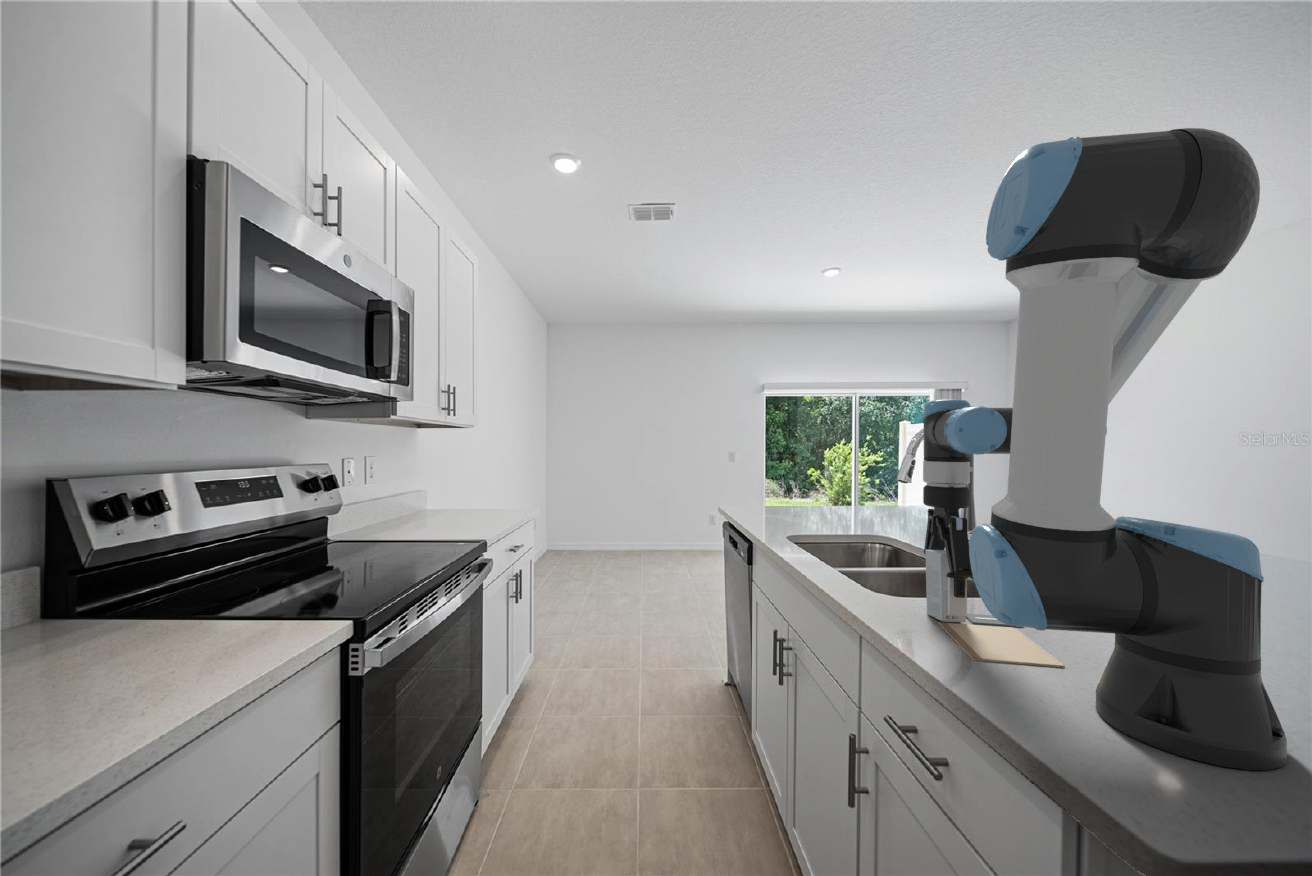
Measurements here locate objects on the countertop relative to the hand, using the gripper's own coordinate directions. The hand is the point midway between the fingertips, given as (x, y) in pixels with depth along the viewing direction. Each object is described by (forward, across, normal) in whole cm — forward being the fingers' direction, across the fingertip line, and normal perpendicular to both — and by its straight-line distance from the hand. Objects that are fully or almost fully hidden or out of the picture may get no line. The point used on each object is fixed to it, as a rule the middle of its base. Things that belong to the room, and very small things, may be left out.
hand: (945, 604), depth 97 cm
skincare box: (+3, 0, 0) cm, 3 cm away
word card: (+3, +1, -8) cm, 8 cm away
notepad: (+3, -11, -4) cm, 12 cm away
